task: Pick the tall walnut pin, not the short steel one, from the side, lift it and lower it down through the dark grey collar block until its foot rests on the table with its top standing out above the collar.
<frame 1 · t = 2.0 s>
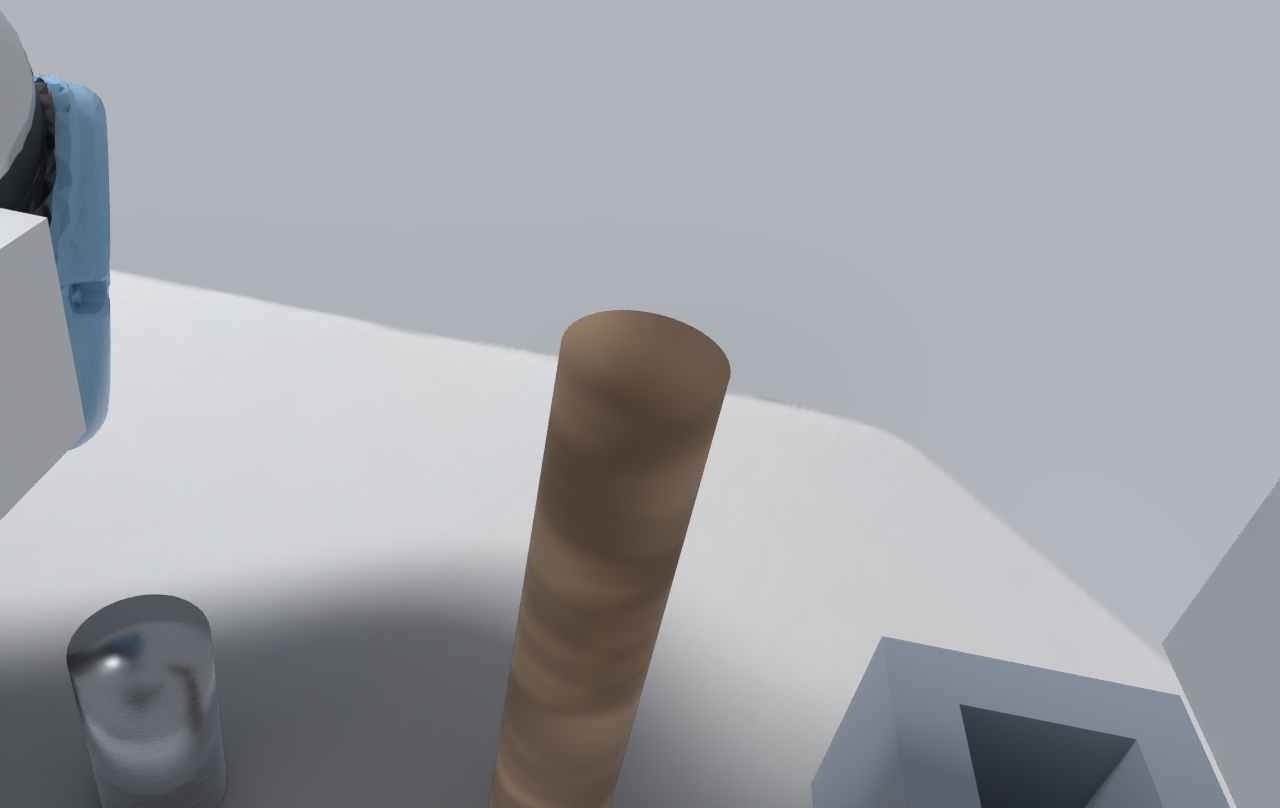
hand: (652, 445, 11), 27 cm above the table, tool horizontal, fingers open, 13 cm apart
short steel pin: (166, 790, 35), on the table
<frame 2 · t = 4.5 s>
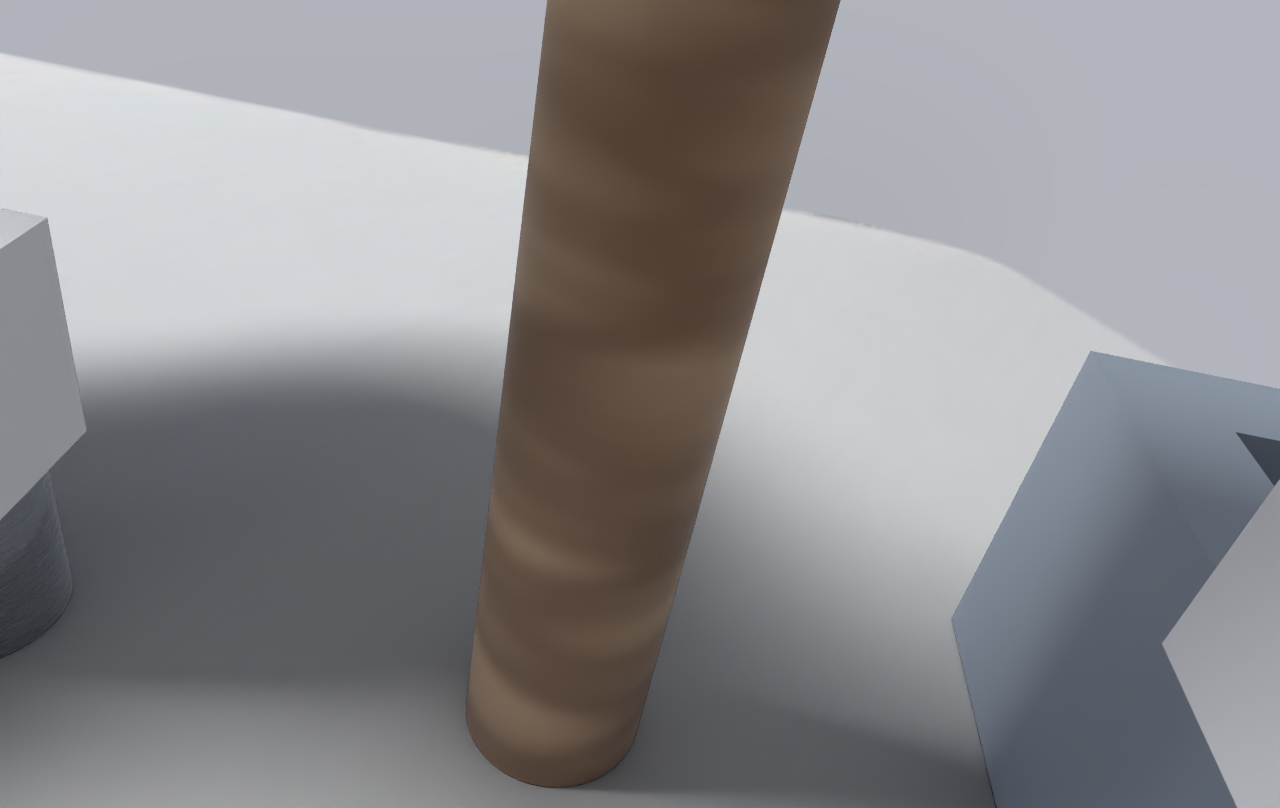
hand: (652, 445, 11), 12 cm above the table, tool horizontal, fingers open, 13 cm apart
long walnut pin: (553, 709, 23), on the table
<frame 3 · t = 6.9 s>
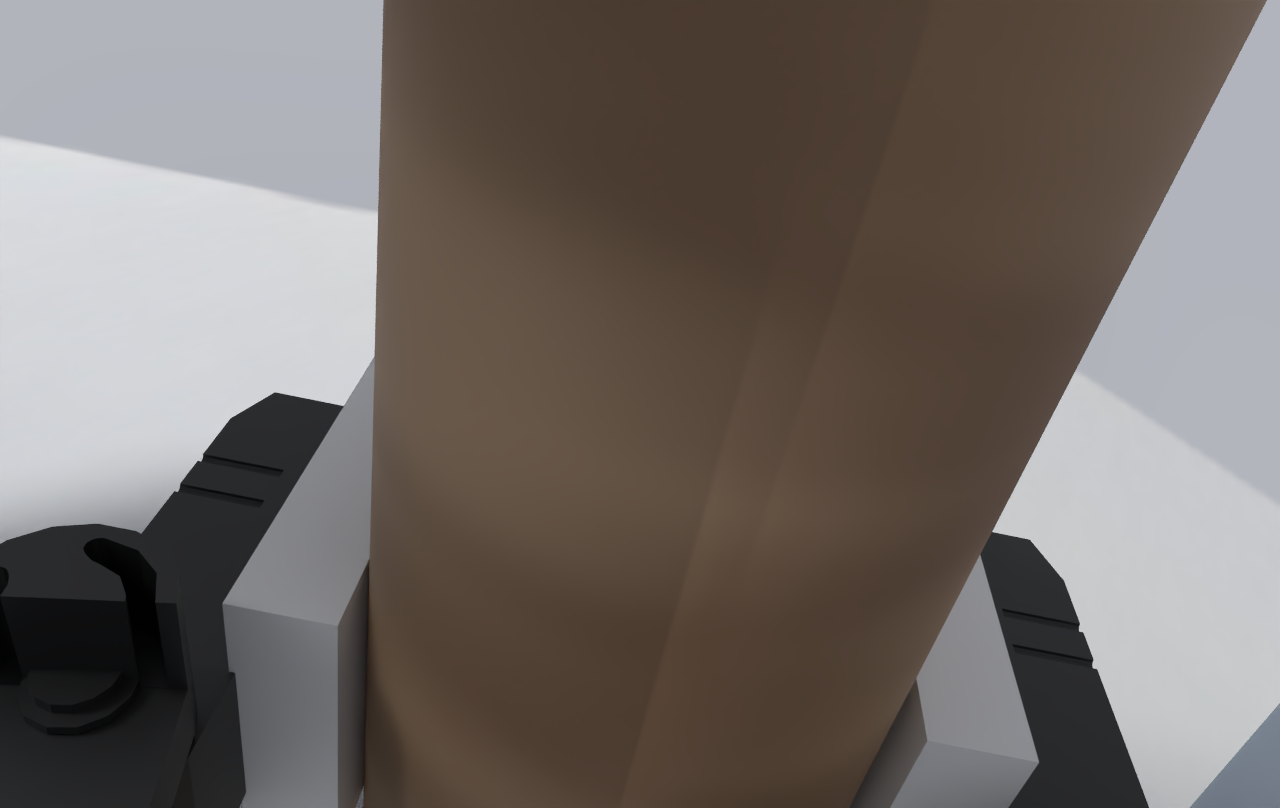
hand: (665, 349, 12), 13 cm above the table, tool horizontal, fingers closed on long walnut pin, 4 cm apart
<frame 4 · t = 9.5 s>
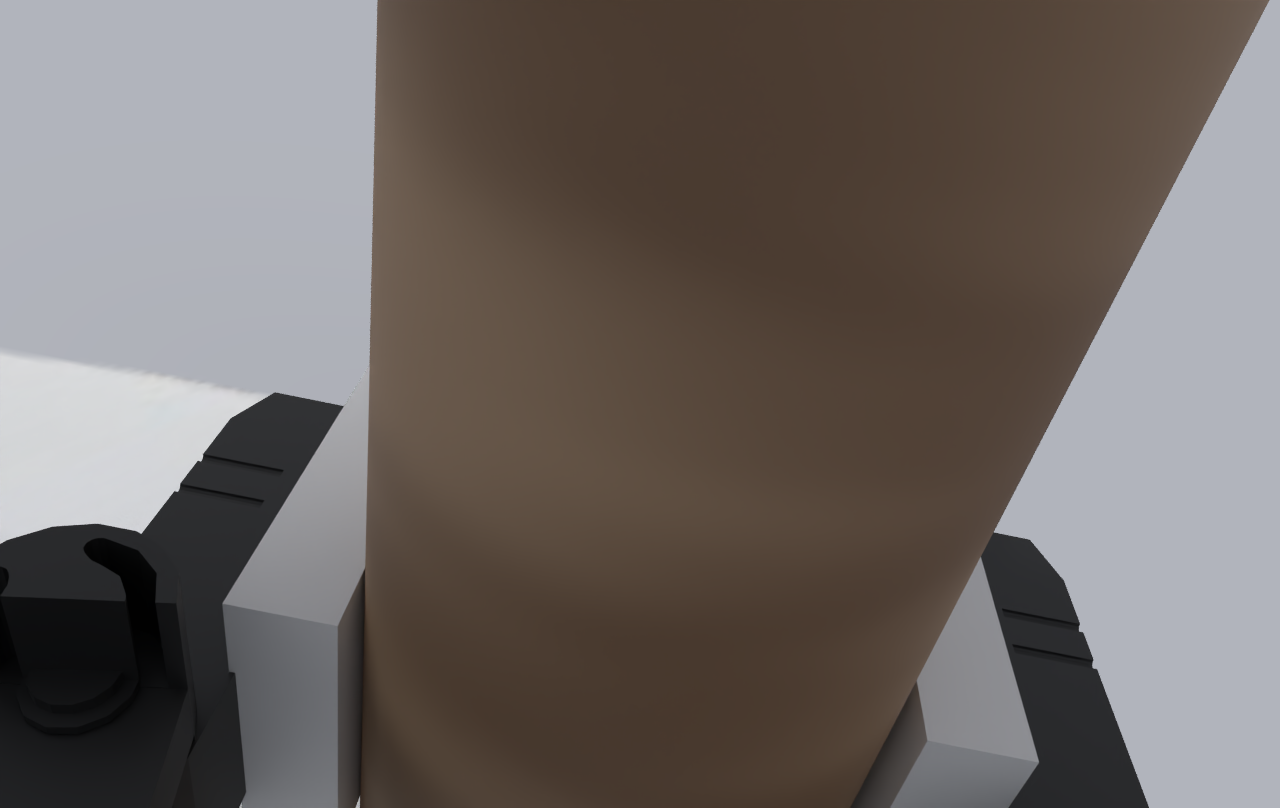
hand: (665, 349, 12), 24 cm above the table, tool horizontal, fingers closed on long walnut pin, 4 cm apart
when the fingers open (14 cm above the table, at t = 12.1 s): long walnut pin drops 2 cm, resting in collar block.
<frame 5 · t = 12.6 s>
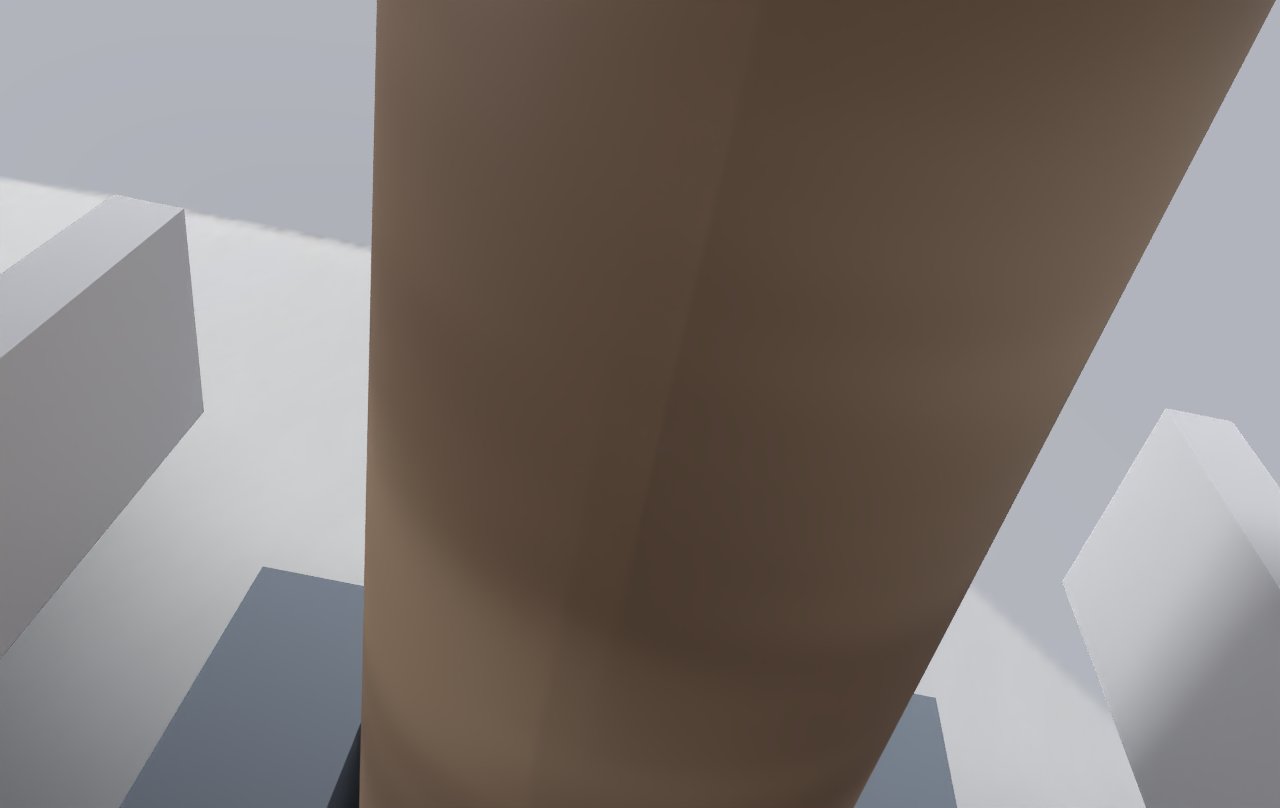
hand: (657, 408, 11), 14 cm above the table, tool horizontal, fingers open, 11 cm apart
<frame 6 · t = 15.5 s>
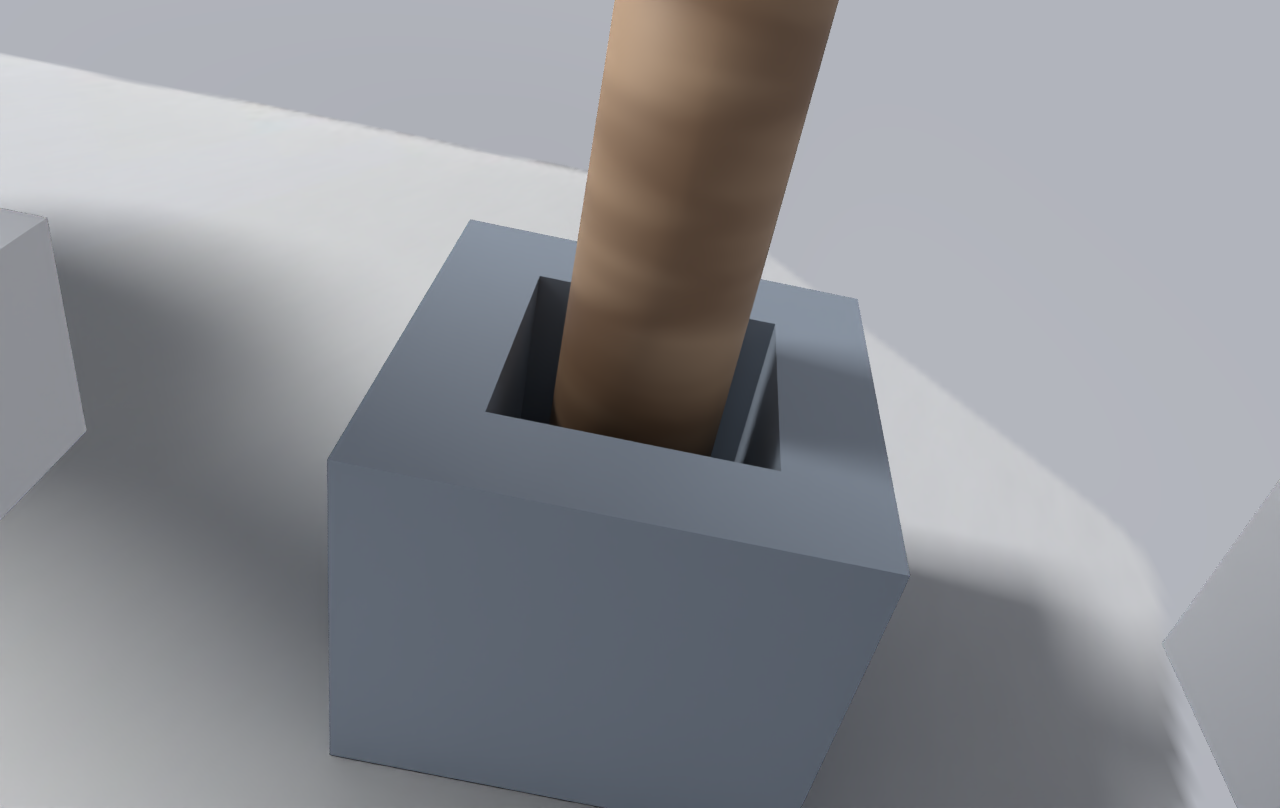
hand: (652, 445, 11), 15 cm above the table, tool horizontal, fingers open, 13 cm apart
long walnut pin: (589, 628, 28), resting in collar block
collar block: (590, 625, 28), on the table
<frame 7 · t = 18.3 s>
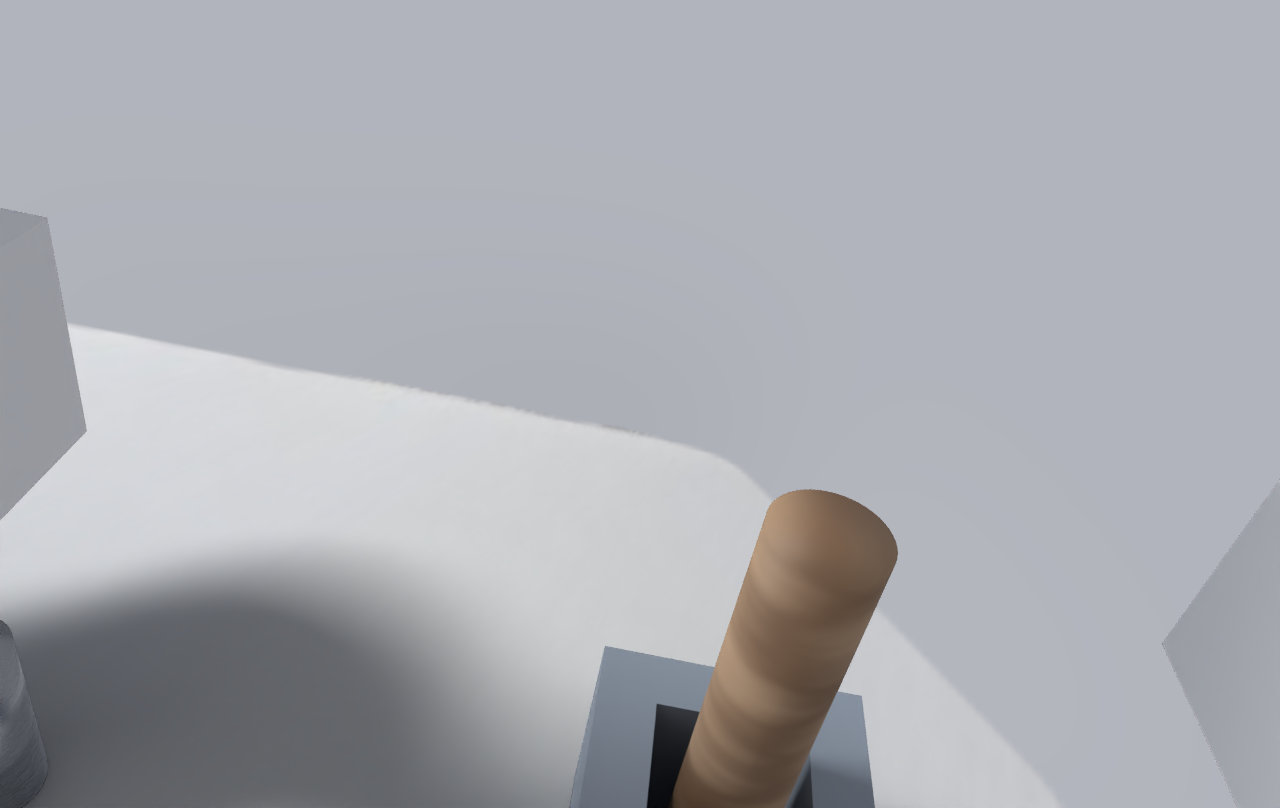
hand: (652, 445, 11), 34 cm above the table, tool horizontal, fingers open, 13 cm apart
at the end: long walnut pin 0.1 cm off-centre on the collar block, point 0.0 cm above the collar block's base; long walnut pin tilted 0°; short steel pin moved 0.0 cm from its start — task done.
